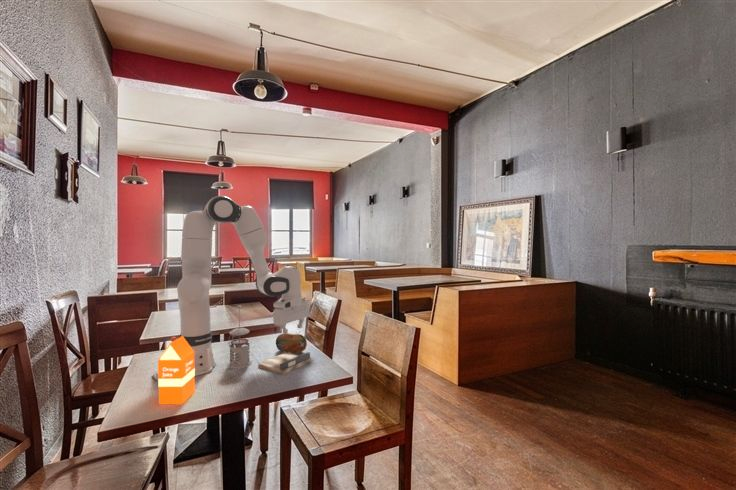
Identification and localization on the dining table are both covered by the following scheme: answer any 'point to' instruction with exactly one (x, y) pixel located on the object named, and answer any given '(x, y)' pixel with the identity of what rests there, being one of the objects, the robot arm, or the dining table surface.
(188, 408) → the dining table surface
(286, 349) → the oval plaque
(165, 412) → the dining table surface
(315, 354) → the dining table surface
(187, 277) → the robot arm
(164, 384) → the orange juice
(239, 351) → the french press
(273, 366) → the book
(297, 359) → the price rail
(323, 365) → the dining table surface
